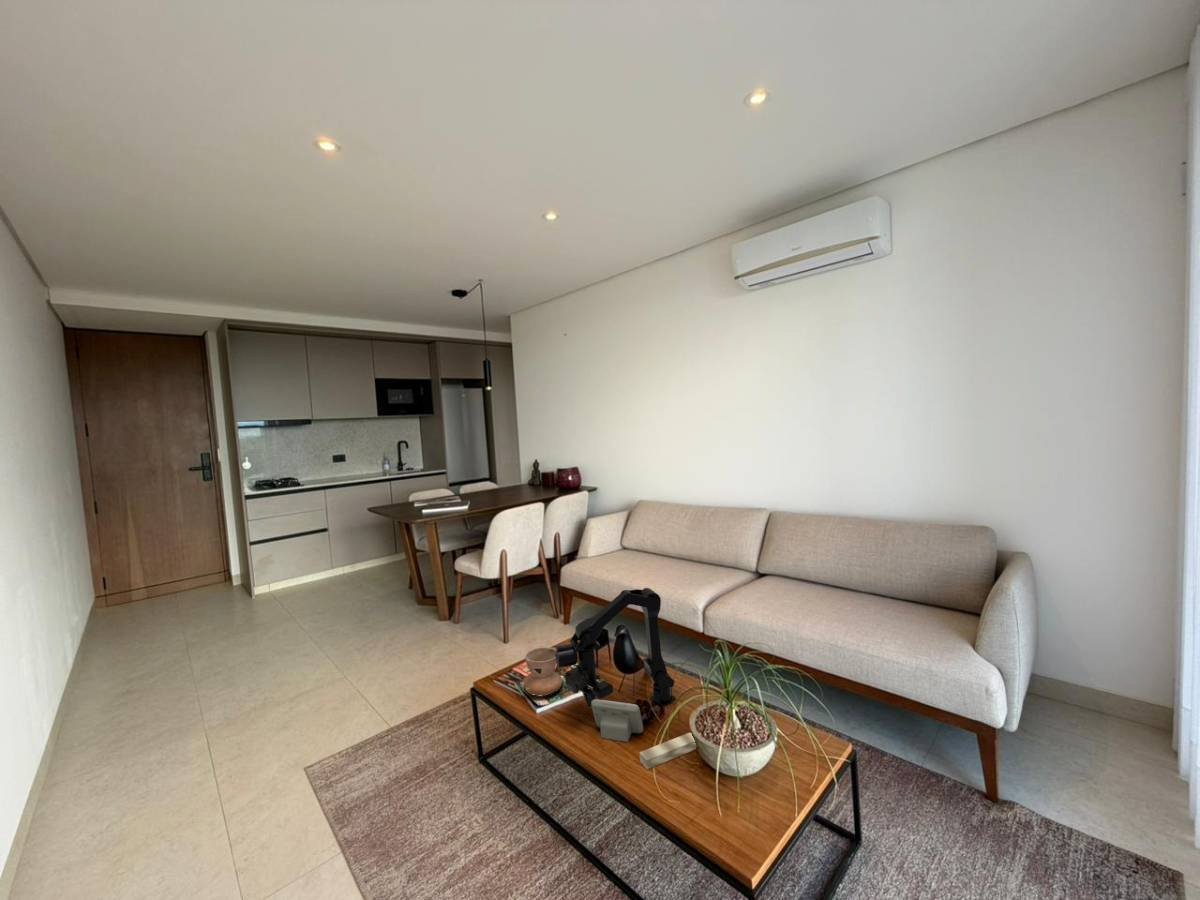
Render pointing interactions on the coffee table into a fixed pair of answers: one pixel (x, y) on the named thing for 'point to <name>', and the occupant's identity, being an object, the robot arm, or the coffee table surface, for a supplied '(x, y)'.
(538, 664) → the brown mug
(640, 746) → the coffee table surface
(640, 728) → the digital clock
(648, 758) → the pale gray wavy block
